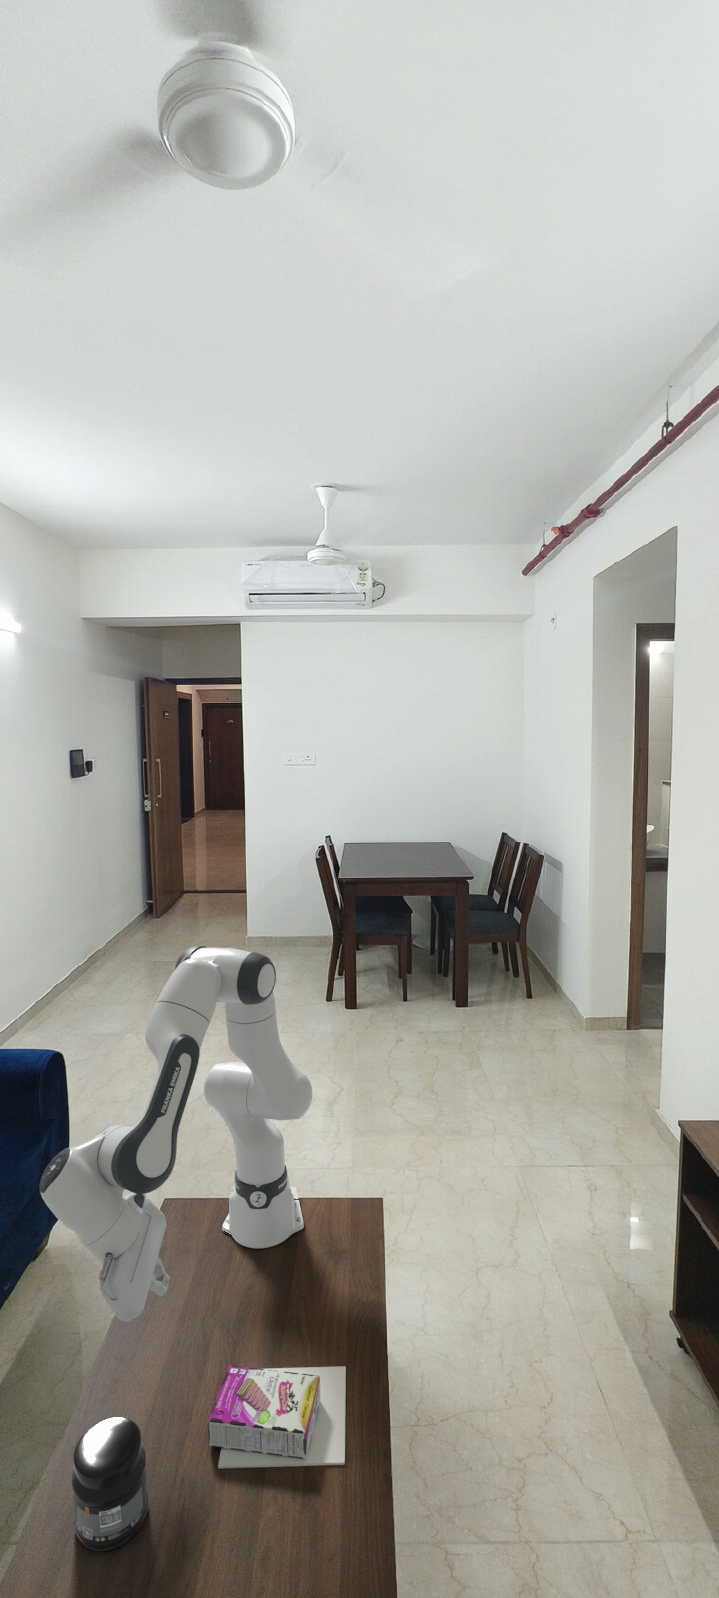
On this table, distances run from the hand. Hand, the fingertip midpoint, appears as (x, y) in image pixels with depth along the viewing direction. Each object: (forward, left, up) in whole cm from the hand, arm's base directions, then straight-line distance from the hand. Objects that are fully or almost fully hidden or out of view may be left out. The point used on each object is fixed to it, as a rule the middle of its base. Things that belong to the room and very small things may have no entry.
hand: (165, 1288), depth 132 cm
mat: (+4, +20, -21) cm, 29 cm away
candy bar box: (+4, +9, -18) cm, 20 cm away
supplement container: (+20, -4, -21) cm, 29 cm away
